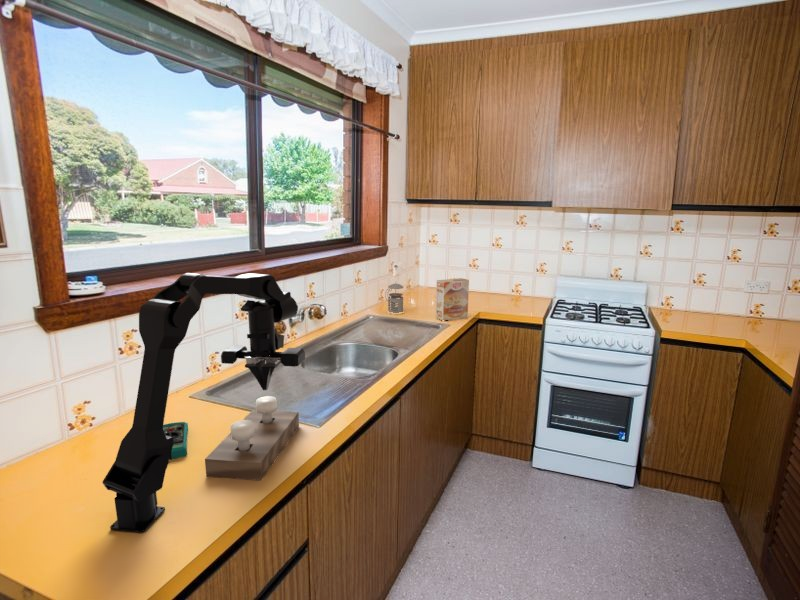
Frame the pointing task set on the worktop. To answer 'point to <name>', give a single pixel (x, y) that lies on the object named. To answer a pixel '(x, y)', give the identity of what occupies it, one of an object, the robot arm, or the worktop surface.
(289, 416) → the brown wooden board
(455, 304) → the coffeecake box
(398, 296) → the french press
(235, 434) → the near knob
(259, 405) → the far knob
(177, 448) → the digital multimeter
